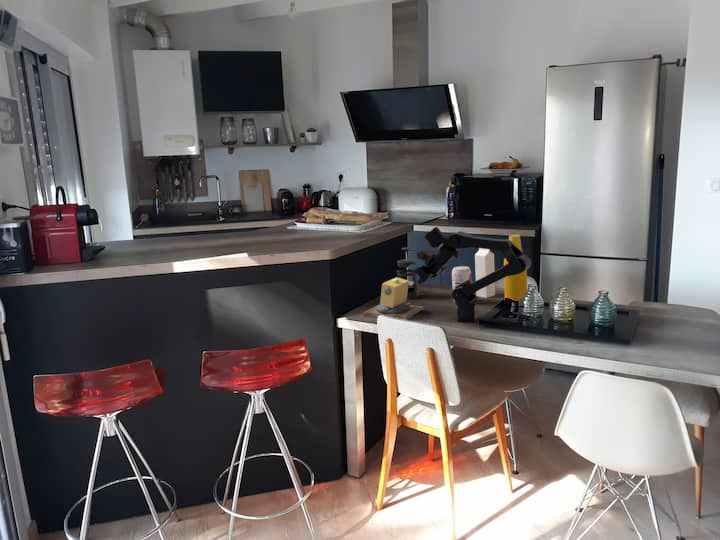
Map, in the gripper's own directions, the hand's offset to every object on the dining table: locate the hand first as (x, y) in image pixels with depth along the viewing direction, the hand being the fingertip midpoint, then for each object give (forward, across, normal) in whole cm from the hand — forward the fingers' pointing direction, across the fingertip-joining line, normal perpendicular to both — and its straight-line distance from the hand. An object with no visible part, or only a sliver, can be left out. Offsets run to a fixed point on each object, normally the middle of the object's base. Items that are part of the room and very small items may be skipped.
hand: (418, 283), depth 230 cm
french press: (+24, -26, -4) cm, 36 cm away
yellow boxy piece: (+16, 0, -2) cm, 16 cm away
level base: (+18, 0, +1) cm, 19 cm away
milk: (0, -37, +20) cm, 42 cm away
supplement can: (+4, -25, +15) cm, 30 cm away
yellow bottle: (-12, -27, +32) cm, 43 cm away
